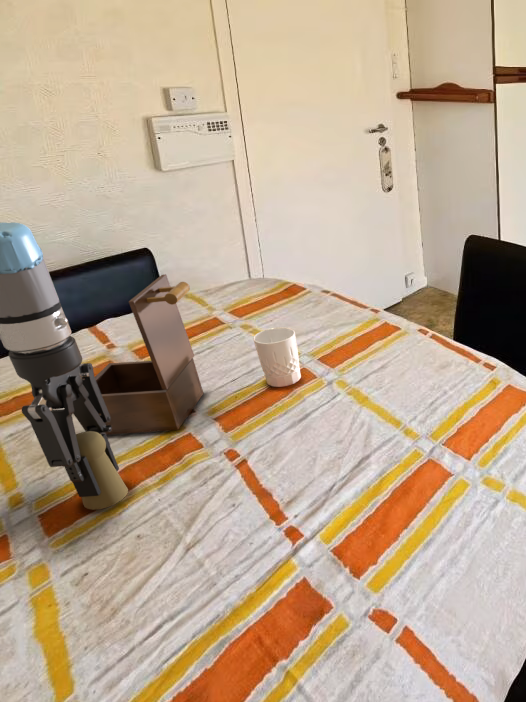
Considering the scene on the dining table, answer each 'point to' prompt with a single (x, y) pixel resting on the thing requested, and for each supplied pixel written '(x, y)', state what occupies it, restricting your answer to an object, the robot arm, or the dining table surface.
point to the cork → (100, 471)
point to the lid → (163, 328)
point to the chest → (147, 397)
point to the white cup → (278, 356)
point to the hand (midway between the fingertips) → (99, 482)
